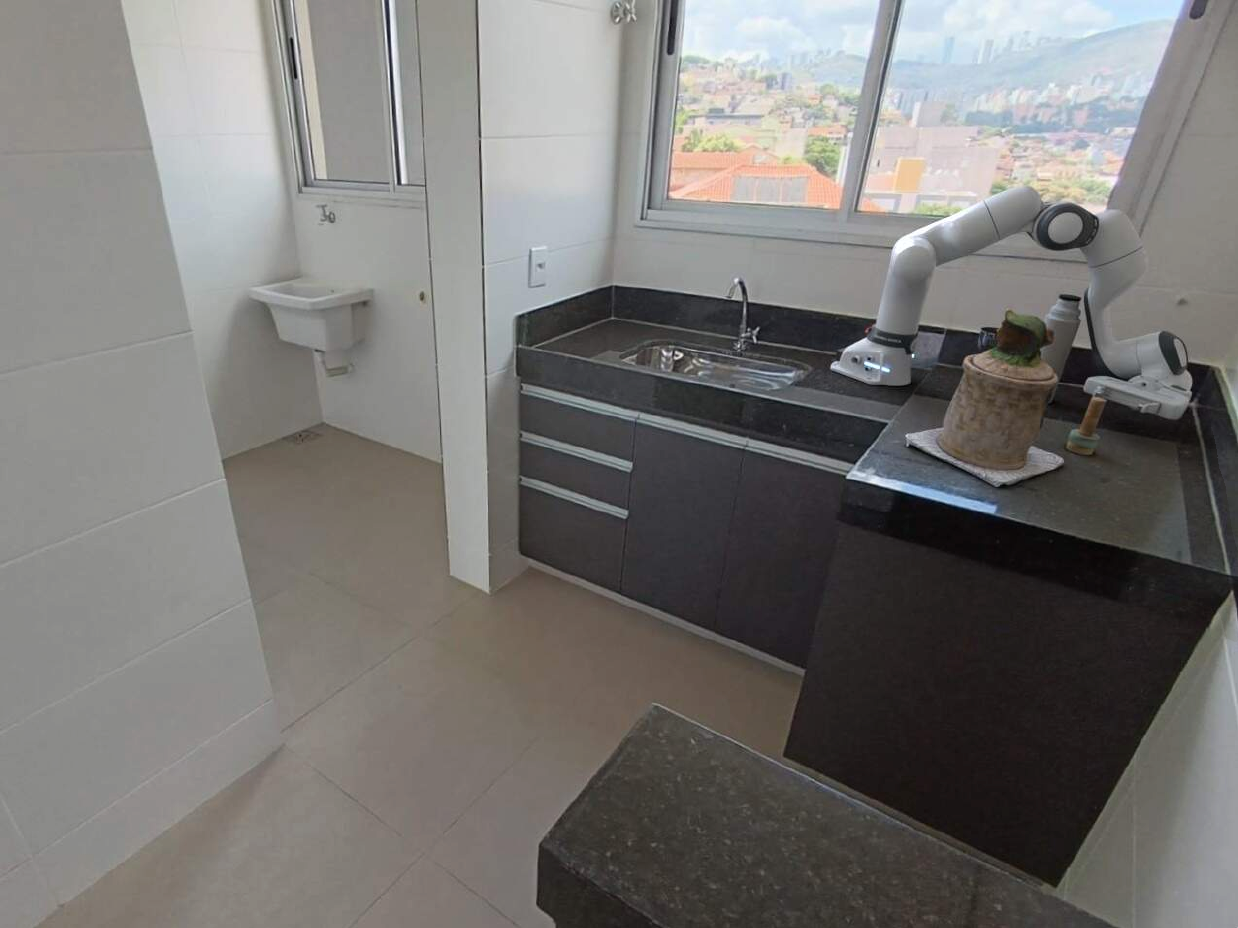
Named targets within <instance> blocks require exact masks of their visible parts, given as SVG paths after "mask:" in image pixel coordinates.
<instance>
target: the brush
mask: <svg viewBox="0 0 1238 928" xmlns="http://www.w3.org/2000/svg"><path fill="white" fill-rule="evenodd" d="M1106 404H1107V399H1104V398H1099V397H1091V399H1090V401H1089V404H1088V407H1087V409H1086V411H1085V414H1084V417H1083V419H1082V422H1081V424H1080V427H1079V428H1074V429H1071V431H1070V432H1069V435H1068V438H1067V439H1068V441H1067V443H1066V446H1065V448H1066V449H1067V450H1068V451H1070V452H1072V453H1075V454H1077V455H1082V456H1090V455H1091V456H1092V455H1093V453H1094V450H1095V448H1096V447H1097V445H1098V443H1099V442H1100V441H1099V440H1100V438H1101V436H1100V435H1099V434H1097V433H1095V431H1096V428H1097V427H1098V423H1099V421H1100V419H1101V416H1102V414H1103V411H1104V409H1105V406H1106Z"/></svg>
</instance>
